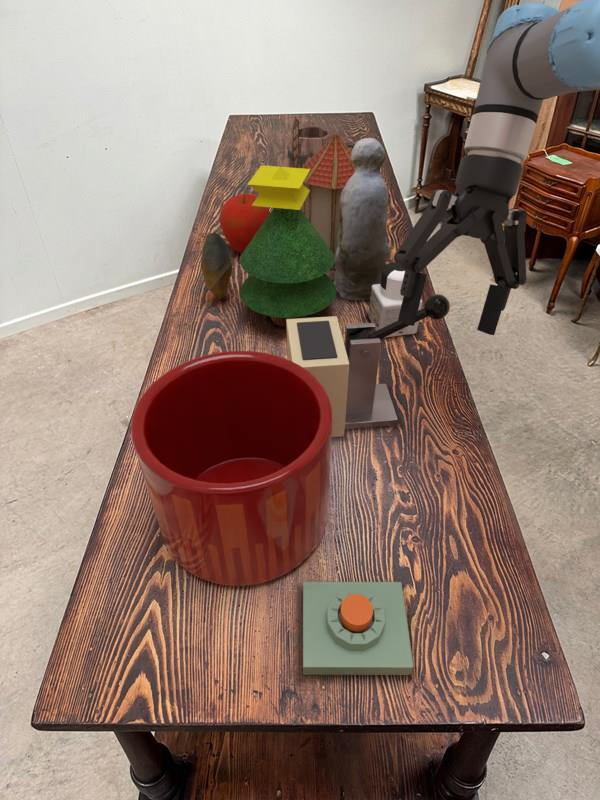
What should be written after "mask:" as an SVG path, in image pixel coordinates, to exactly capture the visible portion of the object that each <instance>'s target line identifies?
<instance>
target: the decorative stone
mask: <svg viewBox="0 0 600 800" xmlns="http://www.w3.org/2000/svg"><path fill="white" fill-rule="evenodd" d="M200 269H201V271H202V275H203V281H204V284H205V287H206V288H207V289H208V290H209V291H210V292H211V293H212V294H213V295H214V296H215V297H216V298H217V299H218V300H219V301H221V300H223V298H224V296H225V295H226V294H227V292H228V291H229V285H230V279H231V276H232V272H233V263H232V259H231V254H230V251H229V248H228V244H227V242H226V241H225V239H224V238H223V237H222V236H221V235H220V233H218V232H210V233H209V234H207V236H206V239H205V241H204V243H203V246H202V250H201V260H200Z"/></svg>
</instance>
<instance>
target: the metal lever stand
mask: <svg viewBox="0 0 600 800" xmlns="http://www.w3.org/2000/svg"><path fill="white" fill-rule="evenodd" d="M365 329H366V330H367V331H368V333H369V334H371V333H373V332H375V331H376V330H375V324H374V323H372V322H365V323H364V322H363V323H362V322H361V323H347V324H345V329H344V330H345V332H344V345H345V349H346V353H347V357H348V360H349V377H348V390H347V404H346V417H345V430H357V429H371V428H383V427H384V428H385V427H397V426H398V422H399V418H398V415H397V413H396V409H395V406H394V403H393V400H392V398H391V394H390V391H389V388H388V385H387V383H377V378H378V370H379V364H380V363H379V362H380V355H381V345H382V341H381V339H380V338H376V339H361V340H350V337H351V336H353V335H355V334H357V333H359V332H361V331H363V330H365Z"/></svg>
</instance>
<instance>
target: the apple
mask: <svg viewBox="0 0 600 800" xmlns="http://www.w3.org/2000/svg"><path fill="white" fill-rule="evenodd" d="M258 196H259V195H257V194H254V193H248V192H247V193H240V194H237V195H234V196H231V197H229V199H227V200H226V201H225V202H224V203H223V204H222V205H221V209H220V213H219V216H218V221H219V224H220V228H221V232H222V234H223V236H224V237H225V239H226V242H227V243H228V244H229V246H230V248H231V249H232V250H235V251H236V252H238V253H240V254H242V253H243V252H244V250H245V249H246V247H247V246H248V245H249V243H250V242H251V240H252V239H253V237H254V236H255V234H256V233H257V231H258V230H259V229H260V227H261V226H262V224H263V223H264V221H265V220H266V218H267V217H268V215H269V214H270V213H271V211H270V209H269V208H270V207H261V206H252V204H253V203H254V201H255V200H256V199H257V197H258Z"/></svg>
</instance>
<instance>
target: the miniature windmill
mask: <svg viewBox="0 0 600 800" xmlns="http://www.w3.org/2000/svg"><path fill="white" fill-rule="evenodd" d="M293 121H294V122H293V125H292V131H293V160H294V168H298V158H299V129H300V121H299V120H298V117H295V118H294V120H293ZM351 153H352V150H351V149H350V148H348V147H347V146H346V145H345V142H344V141H343V139H342V138H341V136H340V134H339V133H338V132H333V134H331V138H330V139H329V140H328V142H327V143H326V144H325V145H324V146H323V147H322V148H321V149H320V150H319V151H318V152H317V153H316V154H315V155H314V156H313V157H312V155H311V152H310V153H309V155H308V156H307V157H306V158H305V160H304V161H303V163H302V165H301V167H300V168H303V169H310V171H309V172H308V174H307V176H306V178H305V180H304V181H303V183H304V186H305V187H306V188H308V189H309V190H310V191H309V193H308V195H307V197H306V199H305V201H304V215H305V216H306V217H307V219H308V220H309V221H310V223H311V224H312V225H313V227H314V228H315V229H316V231H317V232H318V233H319V235H320V236H321V237H322V239H323V240H324V241H325V243H326V244H327V245H328V247H329V248H330V249H331V251H332V252H333V254H334V256H335V254H336V249H337V243H338V236H337V235H338V229H339V224H340V216H339V214H340V211H339V205H340V196H341V193H342V191H343V189H344V187H345V185H346V183H347V182H348V180H349V179H350V178H351V177H352V175H353V174H354V172H355V167H354V164H353V163H352V162H351ZM335 267H336V266H335V263H334V265H333V267H332V268H331V269H330V270H332V271H333V270H336V269H335Z"/></svg>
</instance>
